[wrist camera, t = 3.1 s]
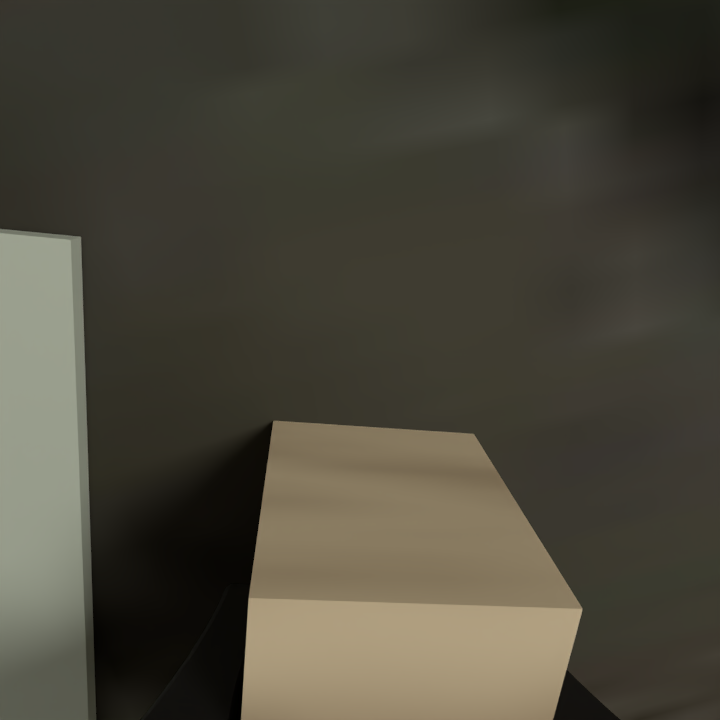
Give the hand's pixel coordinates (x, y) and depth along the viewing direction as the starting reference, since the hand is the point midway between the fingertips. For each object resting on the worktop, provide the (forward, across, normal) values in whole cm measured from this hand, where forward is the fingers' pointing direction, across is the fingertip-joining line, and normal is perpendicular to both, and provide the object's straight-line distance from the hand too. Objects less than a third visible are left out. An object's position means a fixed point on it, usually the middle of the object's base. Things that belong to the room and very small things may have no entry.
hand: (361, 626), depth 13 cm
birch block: (+2, 0, 0) cm, 2 cm away
